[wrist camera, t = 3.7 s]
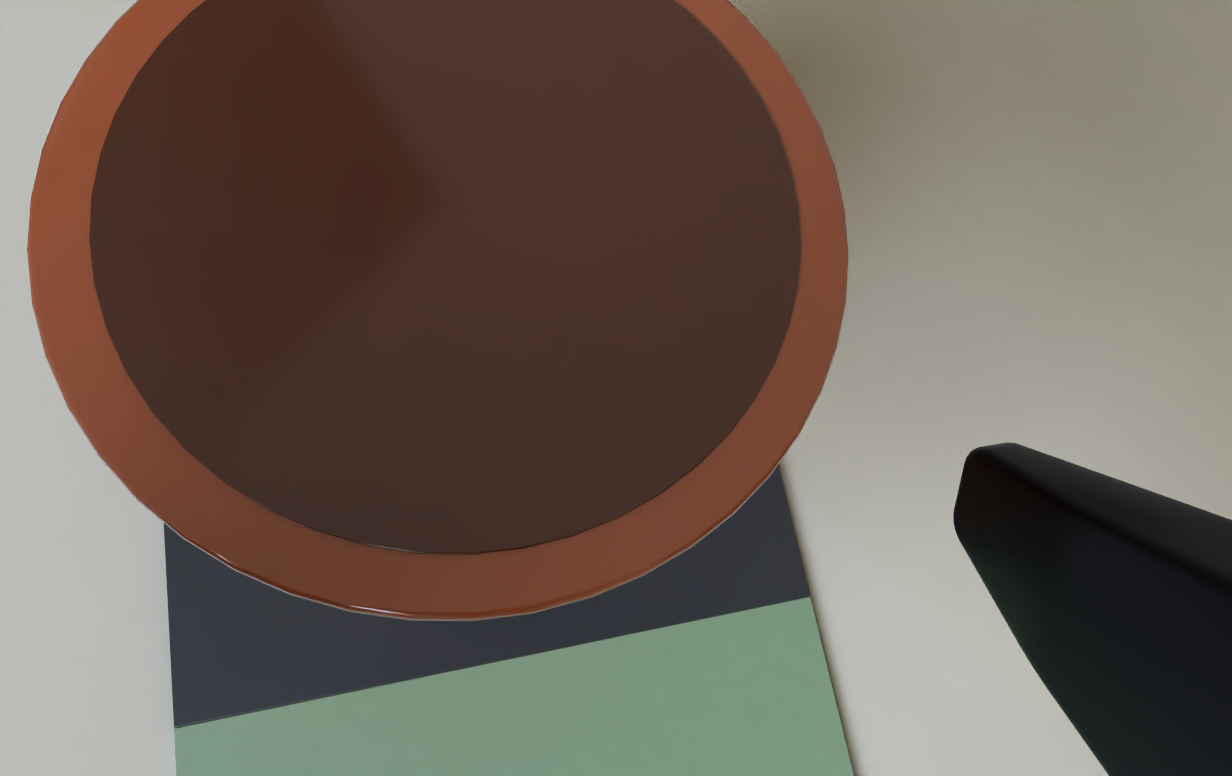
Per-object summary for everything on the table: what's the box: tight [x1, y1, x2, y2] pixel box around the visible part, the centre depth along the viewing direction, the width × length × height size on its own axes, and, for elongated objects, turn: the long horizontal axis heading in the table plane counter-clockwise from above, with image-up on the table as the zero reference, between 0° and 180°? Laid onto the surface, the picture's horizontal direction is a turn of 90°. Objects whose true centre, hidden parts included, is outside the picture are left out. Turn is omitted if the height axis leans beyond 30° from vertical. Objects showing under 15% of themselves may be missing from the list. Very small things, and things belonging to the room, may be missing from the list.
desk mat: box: [164, 466, 854, 776], centre depth 17 cm, size 21×13×1 cm, turn 11°
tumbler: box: [27, 0, 848, 623], centre depth 12 cm, size 7×7×11 cm
